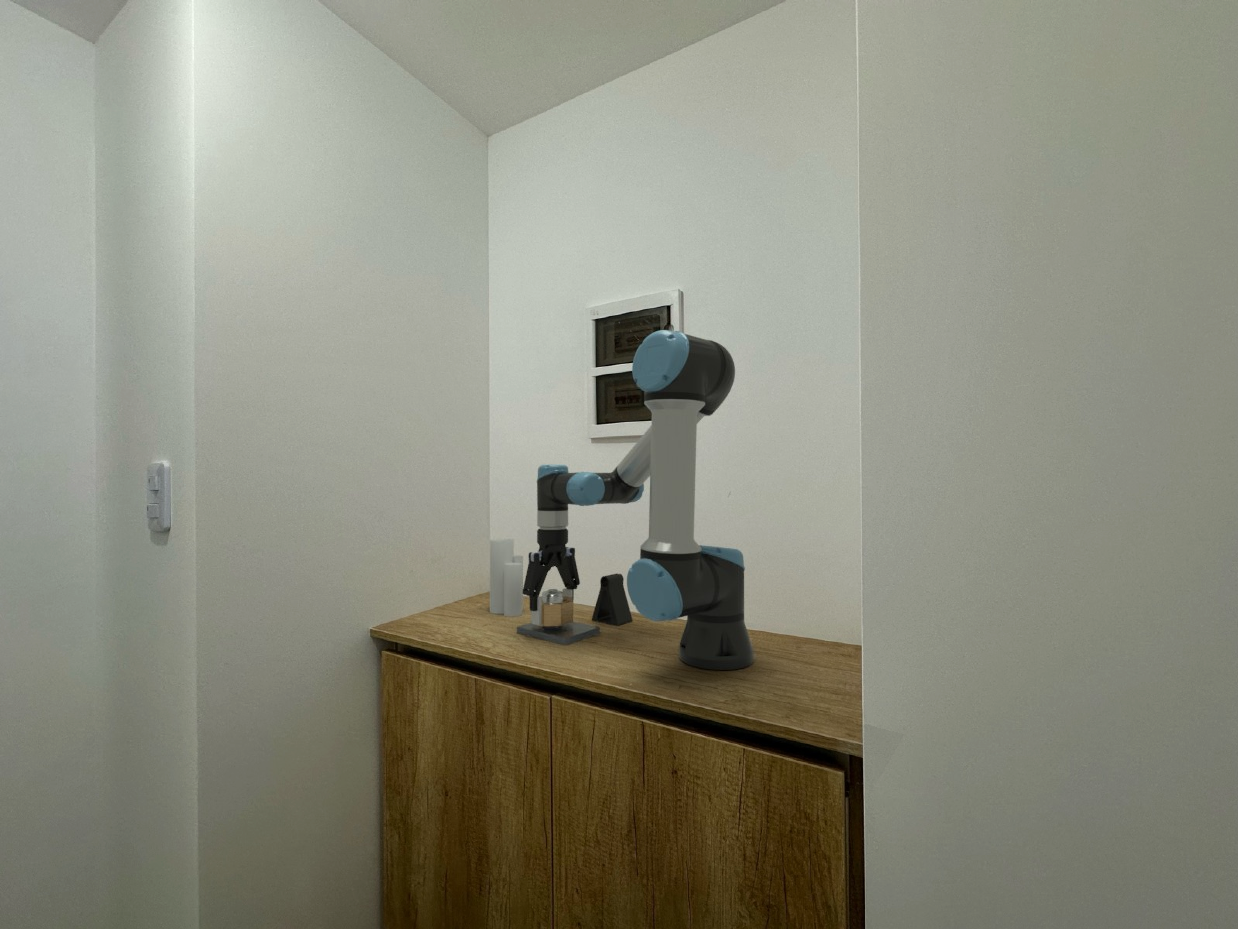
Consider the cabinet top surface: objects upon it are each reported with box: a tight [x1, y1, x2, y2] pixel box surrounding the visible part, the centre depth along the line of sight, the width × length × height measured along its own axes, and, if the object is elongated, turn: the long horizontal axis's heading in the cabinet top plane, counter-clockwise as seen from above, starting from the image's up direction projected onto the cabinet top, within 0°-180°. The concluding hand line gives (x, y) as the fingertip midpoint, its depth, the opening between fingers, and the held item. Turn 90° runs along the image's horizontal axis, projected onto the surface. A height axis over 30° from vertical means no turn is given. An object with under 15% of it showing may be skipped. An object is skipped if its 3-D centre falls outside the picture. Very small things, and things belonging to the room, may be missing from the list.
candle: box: [489, 538, 524, 618], centre depth 155 cm, size 11×7×20 cm, turn 56°
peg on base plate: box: [516, 588, 601, 646], centre depth 134 cm, size 16×12×10 cm
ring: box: [540, 595, 574, 626], centre depth 135 cm, size 10×10×5 cm
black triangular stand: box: [591, 573, 633, 627], centre depth 146 cm, size 9×6×12 cm, turn 50°
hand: (552, 619), depth 135 cm, fingers closed on ring, 10 cm apart
